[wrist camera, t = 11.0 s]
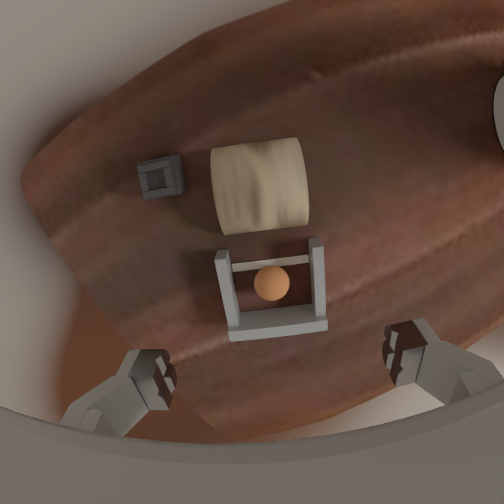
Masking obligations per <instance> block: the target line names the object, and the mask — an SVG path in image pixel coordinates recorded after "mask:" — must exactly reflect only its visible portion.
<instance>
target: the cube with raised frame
mask: <svg viewBox="0 0 504 504" xmlns="http://www.w3.org/2000/svg"><path fill="white" fill-rule="evenodd" d="M137 170H138V175H139V180H140V185H141V190H142V195H143V199H144V201H146V200H151V199H156V198H162V197H167V196H173V195H178V194H181V193H182V192H183V191H185V190H186V183H185V178H184V172H183V167H182V161H181V155H180V154H175V155H170V156H166V157H161V158H156V159H152V160H148V161H144V162H140V163H137Z"/></svg>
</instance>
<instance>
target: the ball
mask: <svg viewBox="0 0 504 504" xmlns="http://www.w3.org/2000/svg"><path fill="white" fill-rule="evenodd" d="M254 287H255V290H256V292H257V294H258V295H259V296H260V297H262V298H263V299H265V300H269V301H274V300H278V299H280V298H282V297H283V296H284V295H285V294H286V293H287V291H288V289H289V277H288V275H287V273H286V272H285V271H284V270H283V269H282V268H280V267H278V266H274V265H269V266H266V267H263V268H262V269H260V270H259V271H258V273H257V274H256V276H255V279H254Z"/></svg>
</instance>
